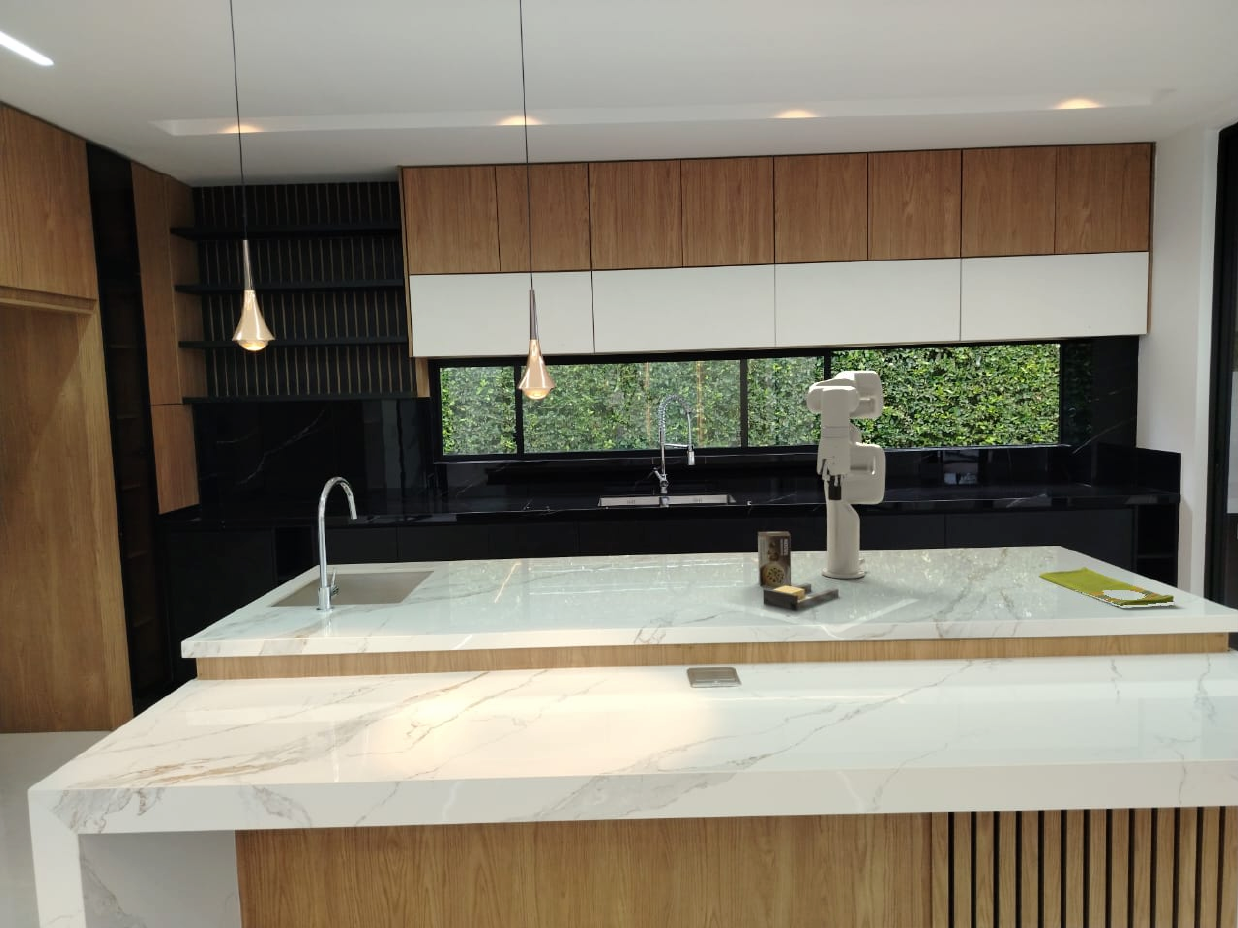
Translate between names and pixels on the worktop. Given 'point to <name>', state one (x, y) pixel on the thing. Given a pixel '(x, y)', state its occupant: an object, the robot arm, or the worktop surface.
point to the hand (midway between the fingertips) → (834, 499)
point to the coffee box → (774, 558)
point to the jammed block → (791, 591)
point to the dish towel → (1102, 586)
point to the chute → (792, 600)
